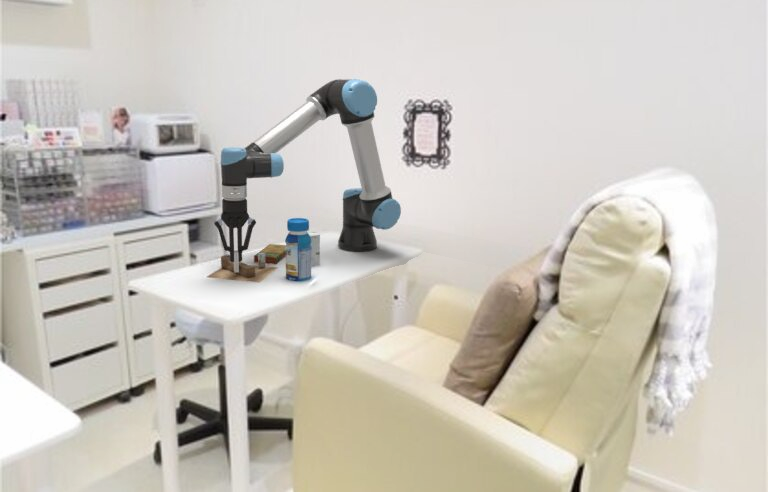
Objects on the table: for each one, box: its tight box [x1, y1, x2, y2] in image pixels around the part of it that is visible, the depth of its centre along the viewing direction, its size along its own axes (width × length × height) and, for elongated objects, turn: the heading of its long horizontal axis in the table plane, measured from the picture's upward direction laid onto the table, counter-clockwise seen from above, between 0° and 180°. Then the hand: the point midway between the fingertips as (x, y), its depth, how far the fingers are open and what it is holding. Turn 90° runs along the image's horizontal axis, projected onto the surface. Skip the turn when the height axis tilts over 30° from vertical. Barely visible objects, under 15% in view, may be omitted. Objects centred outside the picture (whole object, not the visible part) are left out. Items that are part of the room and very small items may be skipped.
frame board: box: [206, 264, 279, 283], centre depth 192 cm, size 18×16×1 cm
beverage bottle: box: [284, 217, 313, 282], centre depth 186 cm, size 8×8×20 cm
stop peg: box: [257, 252, 267, 269], centre depth 196 cm, size 2×2×5 cm
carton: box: [253, 243, 286, 265], centre depth 209 cm, size 8×16×4 cm, turn 171°
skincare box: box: [308, 231, 321, 268], centre depth 201 cm, size 6×4×12 cm
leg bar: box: [220, 253, 255, 277], centre depth 192 cm, size 16×4×4 cm, turn 47°
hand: (236, 271), depth 188 cm, fingers closed
